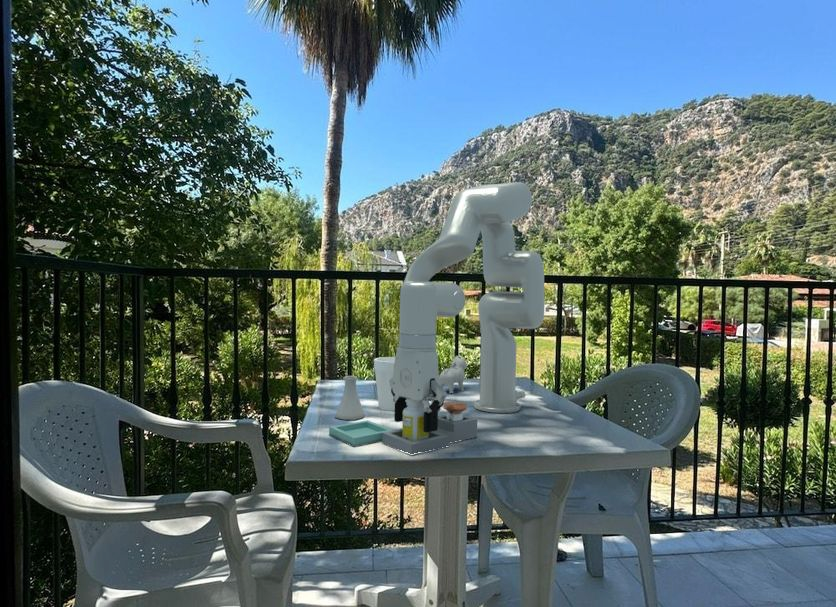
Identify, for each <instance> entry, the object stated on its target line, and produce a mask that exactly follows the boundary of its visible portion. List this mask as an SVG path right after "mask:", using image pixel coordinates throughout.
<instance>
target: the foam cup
mask: <svg viewBox="0 0 836 607" xmlns="http://www.w3.org/2000/svg"><path fill="white" fill-rule="evenodd" d="M394 362H395V357H394V356H385V357H376V358H374V359H373V369H374V374H375V383H376V394H377V401H378V409H380V410H381V409H382V411H388V412H392V411H393V412H395V403H396V402H394V401H393V395H392V393H391V389H392V388H391V386H390V382H389V380H390V379H391V378H393V371H394Z"/></svg>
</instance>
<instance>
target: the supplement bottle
mask: <svg viewBox="0 0 836 607" xmlns="http://www.w3.org/2000/svg"><path fill="white" fill-rule="evenodd" d="M406 405H407V407H406V408H405V409H404V410H403V421H402V428H401V429H402V438H404V439H406V440H409V441H412V442H414V441H419V440H423V439H428V435H429V432H427V433H426V432H424V430H423V428H424V412H427V411H426V409H425V407H424V404H423V402H422V401H414V400H410V399H407V398H406Z"/></svg>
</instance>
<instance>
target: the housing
mask: <svg viewBox="0 0 836 607" xmlns="http://www.w3.org/2000/svg"><path fill="white" fill-rule="evenodd" d="M446 418H447V413H446V414H441V415H438V429H437V430H436V431H432V432H429V435H428V439H423V440H419V441H414V442H412V441H409V440H406V439H404V438H402V428H399V429H392V430H393V431H388V432H383V433H382V441H381V444H383V443H384V444H383V445H385V444H386V445H385V446H387V445H389V446H388V447H390V446H391V447H390V448H392V447H394V448H396V449H395V450H397V449H399V450H402V451H404V452H408V453H410V454H414V453H418V452H425V451H429V450H433V449H438V448H442V447H446V446H449V447H450V444H449V443H450V442H455V441H459V440H464V441H466V440H465V439H468V440H471V439H470V438H472V439H475V438H474V437H477V438H478V419H477V418H475V417H470V416H467V415H465V414H463V420H461V421H456V422H453V421H450V420H447V419H446ZM455 443H456V442H455ZM394 448H393V449H394ZM446 448H447V447H446ZM442 449H443V448H442ZM399 450H398V451H399ZM438 450H439V449H438ZM433 451H434V450H433ZM404 452H403V453H404ZM429 452H430V451H429ZM425 453H426V452H425Z"/></svg>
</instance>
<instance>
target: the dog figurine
mask: <svg viewBox="0 0 836 607" xmlns="http://www.w3.org/2000/svg"><path fill="white" fill-rule="evenodd" d="M466 360H467V359H466V357H465V356H464V357H460V356H459V355H456V356H454V359H453V360H452V362H451V366H449V368H445V370H443V371H441V372H440V373H439V385H440V386H441V387H442V388H443V387H444V386H446V387H447V388H448V389H449V393H454V389H453V388H454V386H455V385H454V384H455V383H457V384H458V388H459V391H460V390H462V391H461V392H464V391H465V389H464V379H465V378H466V375H465V374H466V373H465V369H467V367H468V363H467V361H466ZM443 389H444V388H443Z"/></svg>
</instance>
